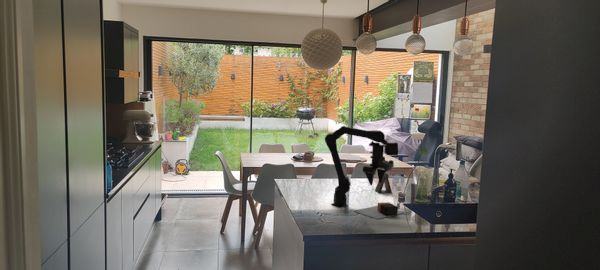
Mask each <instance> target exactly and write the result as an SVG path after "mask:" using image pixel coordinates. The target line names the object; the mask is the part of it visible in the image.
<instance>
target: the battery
mask: <svg viewBox="0 0 600 270" xmlns="http://www.w3.org/2000/svg"><path fill="white" fill-rule="evenodd" d="M377 206H378V209H377V210H378V211H379V212H381V213H382V214H384V215H385V216H390V215H395V216H398V215H397V213H398V211H399V210H398V209H399V206H397V205H396V204H393V203H391V202H390V201H389V202H378V203H377ZM390 217H391V216H390Z"/></svg>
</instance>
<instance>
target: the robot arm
mask: <svg viewBox="0 0 600 270" xmlns="http://www.w3.org/2000/svg"><path fill="white" fill-rule="evenodd" d="M344 135H349V136H355V137H361V138H366V139H369V140H370V141H371V142H369V143H368V145H369V146H370V147H372V150H371V152H372V153H371V155H370V159H371V163H370V164H369V165H364V166H363V167H362V172H363V173H364V175H365V176H366V179H367V181H368V183H369V185H370V186H373V184H374V178H375V177H374V176H375V175H376V174H377V178H378V181H379V183H381V182H382V180H383V177H384V175H385V173H386V174H387V173H388V172H389V171H392V169H393V168H394V165H395V164H394V163H395V162H394V160H390V159H389V160H386V157H385V156H384V154H386V156H394V157H395V156H398V155H399V142H388V140H387V139H385V138H386V137H385V133H384V132H383V131H381V130H378V129H376V130H373V129H372V130H366V129H360V128H355V127H349V126H346V125H342V126H340V128H338V129H337V130H335V131H332V132H329V133H327V134H326V135H325V137H324V142H325V144H326V146H327V149H328V150H329V152H330V154H331V158H332V161H333V166H334V168H335V169H334V170H335V171H336V172H335V173H336V175H337V182H338V185H337V186H336V187H335V188H334V192H333V203H331V204H330V205H332V206H334V207H337V208H344V207H347V206H349V205H348V204H347V193H348V192H349V191H350V189H351V181H350V179H349V178H350V177H349V176H348V175H347V176H346V174H345V172H344V168H343V163H342V162H341V158H340V154H339V151H338V143H337V140H338V139H340V138H341V137H342V136H344ZM380 143H381V144H380Z"/></svg>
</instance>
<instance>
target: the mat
mask: <svg viewBox="0 0 600 270" xmlns="http://www.w3.org/2000/svg"><path fill="white" fill-rule="evenodd" d="M377 209H378V205H375V206H370V207H365V208H361V209H355V210H353V212H354V213H357V214H360V215H362V216H365V217H368V218H372V219H374V220H382V219H385V218H389V217H393V216H394V217H395V216H399V215H403V214H404V212H403V211H402V212H401V211H399V210H398V213H397V215H390V216H385V215H384V214H382V213H381V212H379V211H378V210H377Z"/></svg>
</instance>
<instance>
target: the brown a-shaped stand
mask: <svg viewBox="0 0 600 270" xmlns="http://www.w3.org/2000/svg"><path fill="white" fill-rule="evenodd" d="M390 184H391V183H390V181H389V174H388V173H387V172H386V173H385V175H384V177H383V180H382V182H381V183H379V180H378V182H377V184H376V185H375V189H374V192H376V193H378V194H392V193H393V191H392V188H391V185H390ZM383 188H385V189H383Z"/></svg>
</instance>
